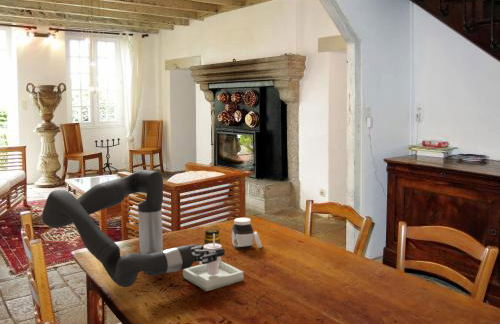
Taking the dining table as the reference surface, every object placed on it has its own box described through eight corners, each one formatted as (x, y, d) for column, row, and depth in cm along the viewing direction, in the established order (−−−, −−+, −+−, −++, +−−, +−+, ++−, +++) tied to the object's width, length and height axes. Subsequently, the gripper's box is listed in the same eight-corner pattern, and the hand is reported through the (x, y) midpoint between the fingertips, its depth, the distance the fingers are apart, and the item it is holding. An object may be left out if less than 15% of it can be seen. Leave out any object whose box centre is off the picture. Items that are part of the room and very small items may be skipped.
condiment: (222, 263, 179) (221, 232, 177) (199, 264, 178) (198, 233, 176) (220, 256, 186) (220, 227, 184) (198, 257, 185) (198, 228, 183)
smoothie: (219, 277, 160) (218, 236, 158) (201, 275, 161) (200, 235, 159) (224, 270, 166) (223, 231, 164) (206, 269, 167) (206, 230, 165)
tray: (183, 277, 165) (183, 269, 165) (219, 267, 174) (219, 259, 174) (206, 291, 153) (206, 282, 153) (243, 280, 162) (243, 271, 162)
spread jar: (229, 244, 200) (229, 217, 199) (253, 241, 205) (253, 214, 203) (241, 253, 190) (240, 225, 188) (266, 249, 194) (266, 221, 193)
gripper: (165, 264, 160) (207, 254, 170) (186, 277, 148) (230, 265, 158) (164, 242, 159) (207, 233, 169) (186, 254, 147) (230, 243, 157)
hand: (218, 249), depth 164 cm, fingers closed on smoothie, 6 cm apart
